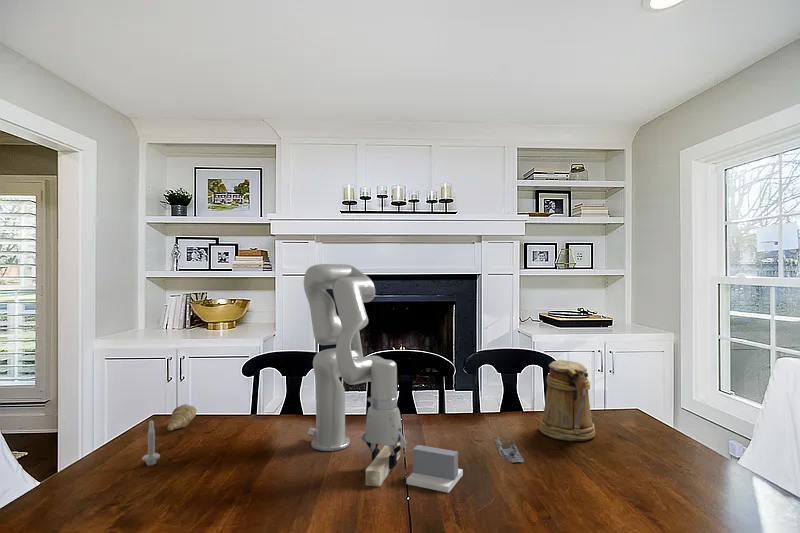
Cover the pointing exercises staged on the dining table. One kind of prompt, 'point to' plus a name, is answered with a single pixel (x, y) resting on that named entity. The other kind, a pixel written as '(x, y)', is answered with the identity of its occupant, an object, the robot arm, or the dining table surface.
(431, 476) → the ridge
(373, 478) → the rod
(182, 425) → the seashell
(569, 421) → the tankard
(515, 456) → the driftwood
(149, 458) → the screw
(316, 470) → the dining table surface
